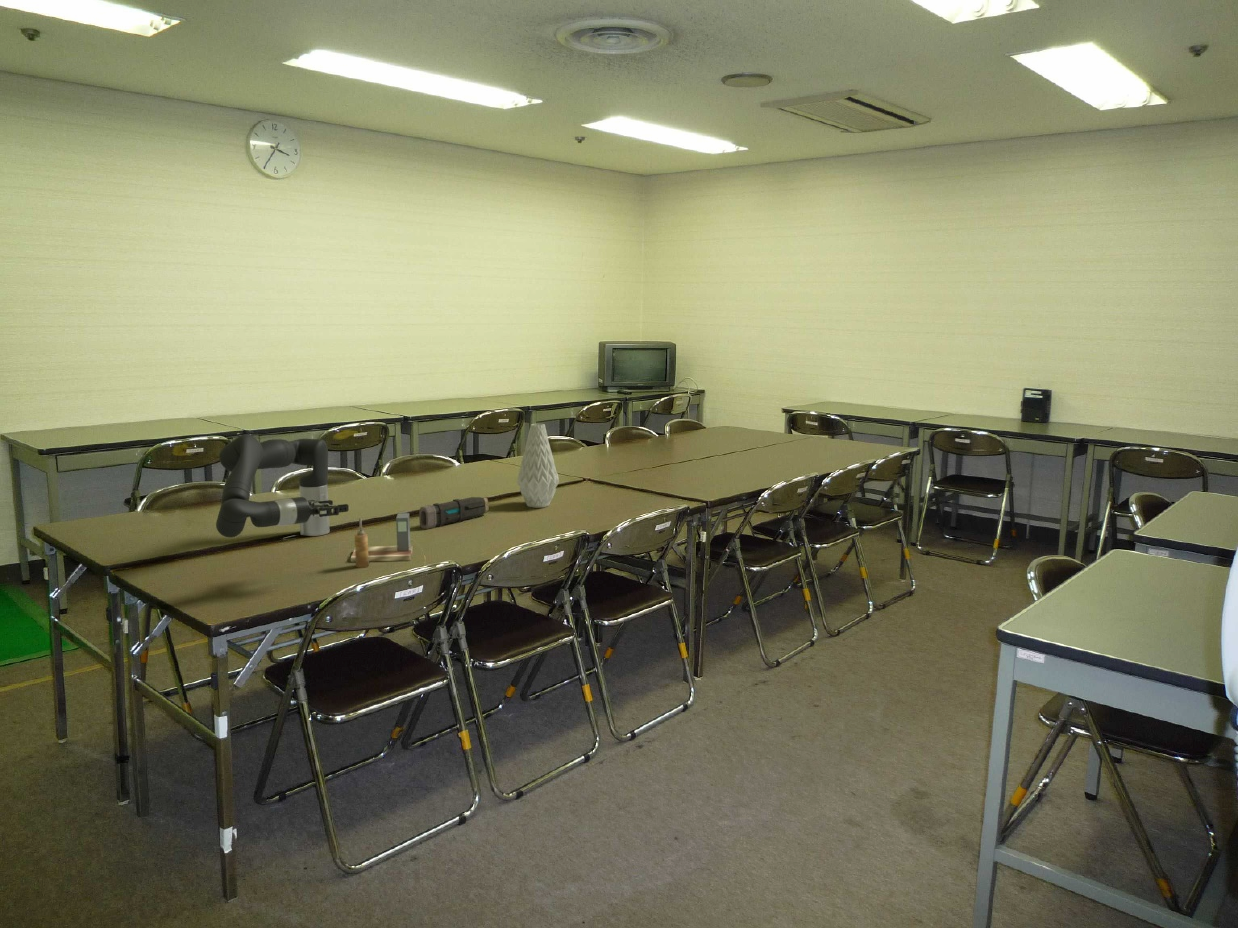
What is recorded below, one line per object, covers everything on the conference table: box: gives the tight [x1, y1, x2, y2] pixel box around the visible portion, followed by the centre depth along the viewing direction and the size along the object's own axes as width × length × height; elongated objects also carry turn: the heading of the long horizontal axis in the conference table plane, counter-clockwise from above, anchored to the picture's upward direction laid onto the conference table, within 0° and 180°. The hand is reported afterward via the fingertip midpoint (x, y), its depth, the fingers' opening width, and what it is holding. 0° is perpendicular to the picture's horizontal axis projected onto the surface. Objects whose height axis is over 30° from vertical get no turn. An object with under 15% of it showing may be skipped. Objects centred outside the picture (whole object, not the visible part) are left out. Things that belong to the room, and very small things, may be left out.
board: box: [350, 544, 414, 563], centre depth 286 cm, size 18×12×2 cm, turn 99°
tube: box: [418, 496, 490, 530], centre depth 330 cm, size 11×7×30 cm
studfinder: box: [395, 512, 411, 551], centre depth 288 cm, size 4×6×11 cm, turn 9°
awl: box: [354, 517, 369, 569], centre depth 274 cm, size 4×4×15 cm
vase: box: [516, 423, 560, 509], centre depth 355 cm, size 17×17×33 cm
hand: (339, 505), depth 265 cm, fingers open, 8 cm apart
